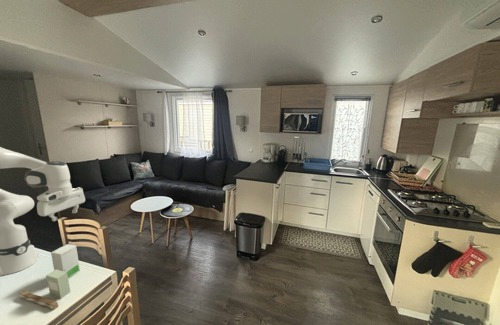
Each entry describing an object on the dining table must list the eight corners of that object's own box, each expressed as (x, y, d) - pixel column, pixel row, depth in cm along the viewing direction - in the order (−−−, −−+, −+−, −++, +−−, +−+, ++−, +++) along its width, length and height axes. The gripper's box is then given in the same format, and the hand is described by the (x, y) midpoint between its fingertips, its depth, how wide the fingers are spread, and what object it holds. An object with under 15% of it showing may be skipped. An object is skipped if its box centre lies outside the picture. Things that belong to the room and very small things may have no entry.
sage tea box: (50, 295, 96) (46, 275, 94) (59, 288, 100) (56, 269, 97) (60, 298, 94) (56, 278, 92) (70, 292, 98) (66, 272, 96)
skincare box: (64, 281, 104) (59, 254, 101) (54, 279, 105) (49, 252, 102) (81, 270, 112) (76, 245, 109) (71, 268, 113) (67, 243, 110)
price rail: (19, 298, 94) (18, 293, 93) (24, 295, 96) (23, 290, 95) (53, 310, 88) (52, 305, 88) (58, 306, 90) (57, 302, 90)
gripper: (78, 185, 116) (81, 208, 119) (32, 198, 97) (37, 224, 99) (86, 186, 114) (89, 209, 117) (41, 199, 95) (46, 226, 98)
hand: (65, 216), depth 108 cm, fingers open, 8 cm apart
